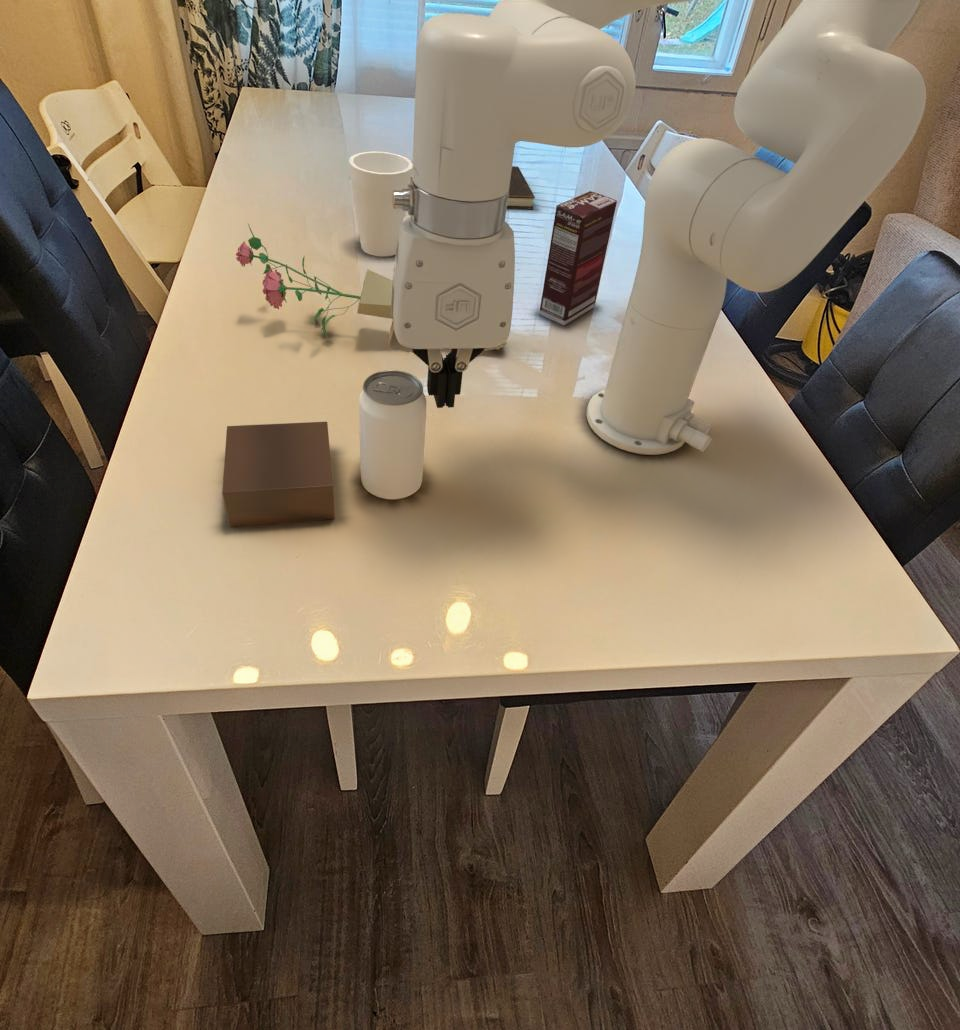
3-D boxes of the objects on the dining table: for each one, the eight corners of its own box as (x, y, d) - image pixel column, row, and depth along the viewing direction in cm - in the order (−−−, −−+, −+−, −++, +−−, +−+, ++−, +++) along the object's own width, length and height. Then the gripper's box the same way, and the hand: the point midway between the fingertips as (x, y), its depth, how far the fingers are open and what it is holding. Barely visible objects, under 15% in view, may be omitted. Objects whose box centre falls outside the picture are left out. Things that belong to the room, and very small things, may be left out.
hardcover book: (533, 209, 131) (535, 196, 129) (409, 205, 127) (409, 192, 125) (516, 177, 142) (517, 165, 140) (402, 172, 138) (402, 160, 136)
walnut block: (329, 454, 77) (327, 421, 73) (335, 519, 70) (332, 485, 67) (233, 459, 75) (226, 425, 71) (229, 526, 68) (221, 492, 65)
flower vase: (479, 405, 98) (220, 337, 90) (485, 339, 104) (242, 269, 96) (508, 352, 88) (219, 270, 80) (513, 282, 94) (244, 199, 86)
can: (413, 507, 72) (417, 413, 64) (352, 494, 72) (348, 399, 64) (429, 468, 77) (435, 374, 68) (371, 456, 77) (370, 362, 69)
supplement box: (569, 295, 108) (590, 189, 97) (595, 307, 106) (620, 200, 95) (536, 314, 103) (554, 204, 92) (563, 327, 101) (585, 216, 90)
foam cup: (343, 238, 115) (340, 153, 105) (396, 232, 118) (397, 149, 109) (364, 264, 109) (362, 176, 100) (419, 257, 112) (422, 172, 103)
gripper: (367, 225, 51) (368, 426, 64) (562, 229, 55) (526, 420, 67) (358, 186, 56) (361, 379, 69) (537, 192, 60) (508, 375, 72)
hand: (442, 399), depth 68 cm, fingers closed
